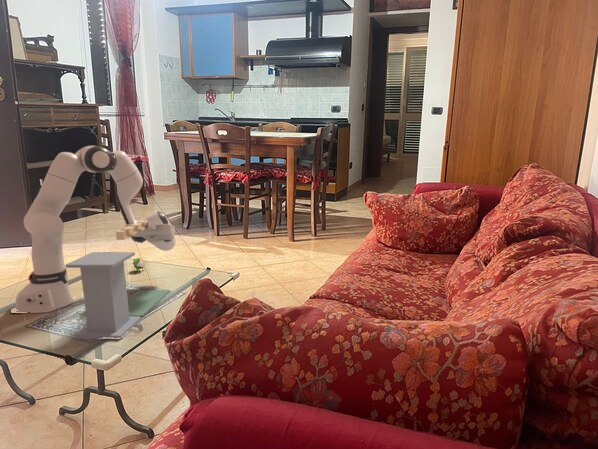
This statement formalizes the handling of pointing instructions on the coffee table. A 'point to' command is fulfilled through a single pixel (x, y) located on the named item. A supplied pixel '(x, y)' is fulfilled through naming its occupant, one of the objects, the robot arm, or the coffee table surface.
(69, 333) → the coffee table surface
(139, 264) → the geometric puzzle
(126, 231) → the checkered wooden bar
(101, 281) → the pedestal
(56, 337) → the coffee table surface
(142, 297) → the mat
